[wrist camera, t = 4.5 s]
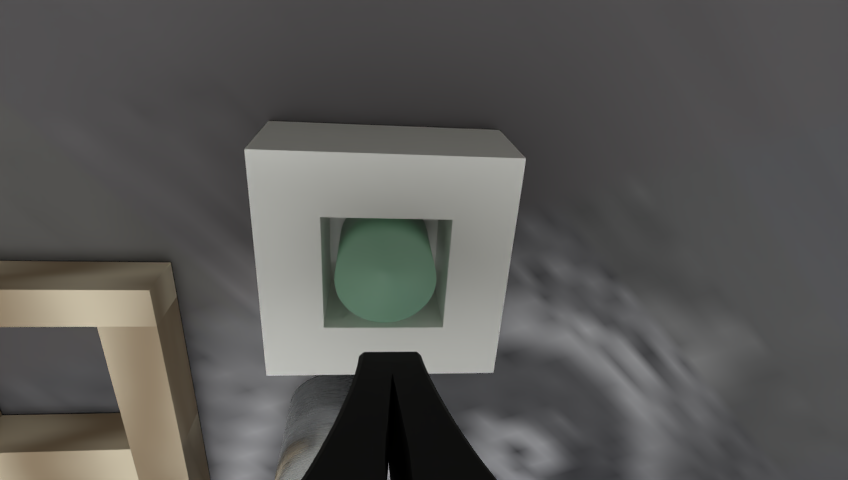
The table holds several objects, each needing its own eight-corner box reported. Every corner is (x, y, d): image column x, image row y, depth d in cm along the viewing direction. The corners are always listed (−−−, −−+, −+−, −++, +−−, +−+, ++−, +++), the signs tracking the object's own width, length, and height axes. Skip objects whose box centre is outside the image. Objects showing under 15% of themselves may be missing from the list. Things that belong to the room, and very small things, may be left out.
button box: (499, 129, 18) (526, 158, 15) (476, 317, 21) (493, 372, 18) (268, 120, 17) (244, 149, 14) (283, 317, 20) (266, 375, 17)
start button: (430, 199, 18) (439, 235, 15) (425, 276, 19) (432, 322, 17) (339, 197, 18) (333, 233, 15) (340, 276, 19) (335, 322, 16)
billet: (379, 373, 22) (381, 493, 17) (378, 438, 24) (379, 567, 19) (287, 374, 22) (258, 498, 16) (292, 441, 23) (267, 573, 18)
